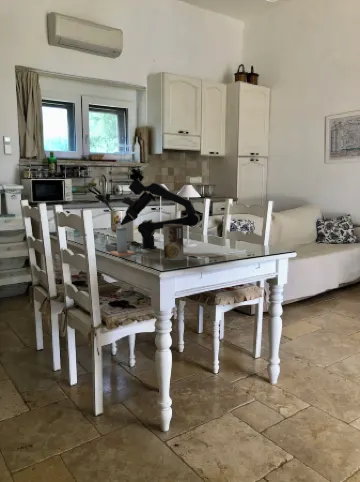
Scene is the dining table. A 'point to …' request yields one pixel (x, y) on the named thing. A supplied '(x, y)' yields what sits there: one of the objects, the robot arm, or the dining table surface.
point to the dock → (113, 249)
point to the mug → (128, 230)
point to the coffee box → (173, 241)
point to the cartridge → (121, 239)
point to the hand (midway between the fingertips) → (121, 223)
